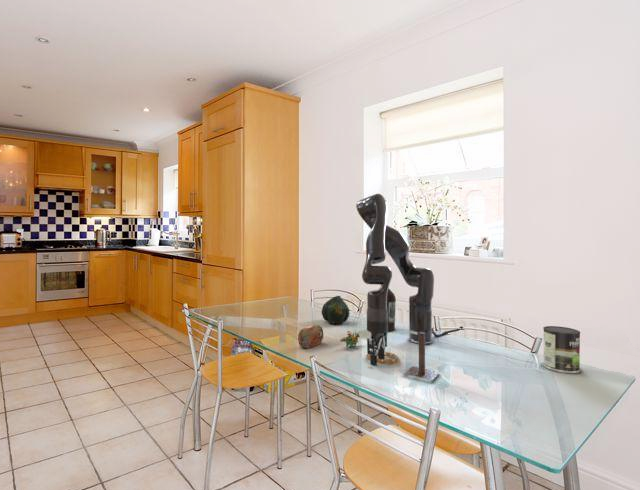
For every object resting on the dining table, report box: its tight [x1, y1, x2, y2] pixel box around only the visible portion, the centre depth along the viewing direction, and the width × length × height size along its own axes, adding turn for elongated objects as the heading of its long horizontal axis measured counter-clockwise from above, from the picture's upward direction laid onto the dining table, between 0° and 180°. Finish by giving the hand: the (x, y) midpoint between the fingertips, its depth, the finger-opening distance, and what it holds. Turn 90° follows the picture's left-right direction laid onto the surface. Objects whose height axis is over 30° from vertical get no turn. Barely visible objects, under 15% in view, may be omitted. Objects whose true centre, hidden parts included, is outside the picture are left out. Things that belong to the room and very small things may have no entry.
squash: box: [321, 295, 350, 325], centre depth 212 cm, size 14×15×15 cm
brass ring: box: [365, 351, 400, 365], centre depth 151 cm, size 12×12×2 cm
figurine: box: [339, 330, 361, 349], centre depth 166 cm, size 3×12×8 cm, turn 121°
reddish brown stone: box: [297, 324, 324, 349], centre depth 172 cm, size 15×3×8 cm, turn 131°
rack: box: [404, 332, 440, 384], centre depth 136 cm, size 9×9×15 cm
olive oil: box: [378, 285, 397, 332], centre depth 197 cm, size 11×11×25 cm
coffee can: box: [542, 325, 581, 374], centre depth 141 cm, size 10×10×14 cm
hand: (377, 362), depth 147 cm, fingers open, 7 cm apart
